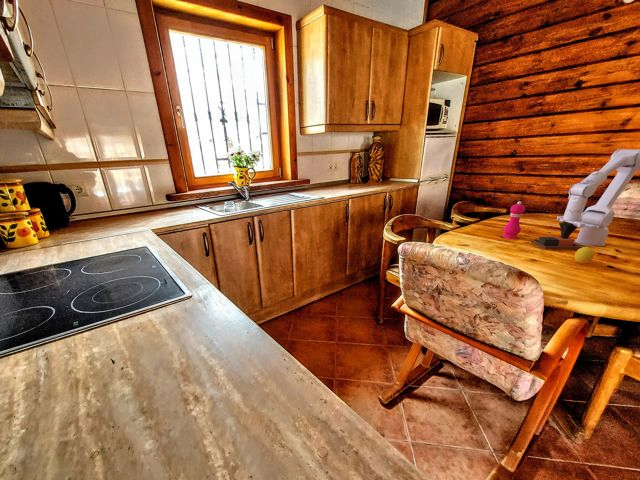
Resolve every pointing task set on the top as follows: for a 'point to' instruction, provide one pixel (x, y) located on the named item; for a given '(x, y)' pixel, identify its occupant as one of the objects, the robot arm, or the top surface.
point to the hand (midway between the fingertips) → (564, 238)
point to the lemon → (584, 255)
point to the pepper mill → (514, 221)
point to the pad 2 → (565, 241)
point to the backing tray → (574, 247)
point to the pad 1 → (548, 241)
